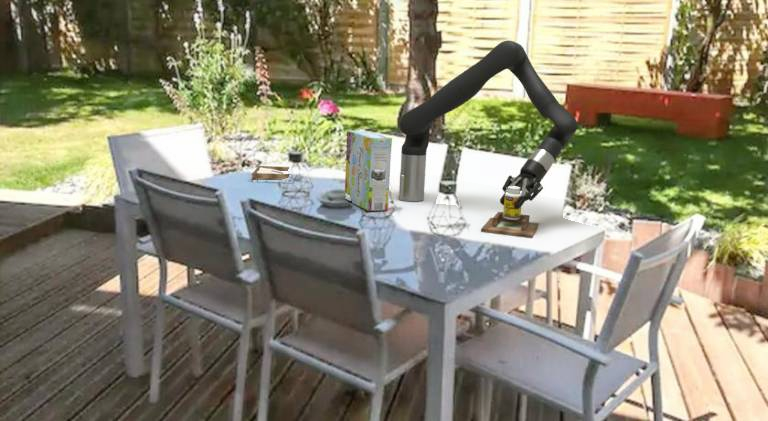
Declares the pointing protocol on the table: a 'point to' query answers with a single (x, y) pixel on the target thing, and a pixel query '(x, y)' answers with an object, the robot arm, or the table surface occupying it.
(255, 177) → the tray
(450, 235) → the table surface
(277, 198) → the table surface
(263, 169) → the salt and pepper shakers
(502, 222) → the brown wooden square frame
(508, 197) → the supplement bottle
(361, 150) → the snack box
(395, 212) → the table surface
